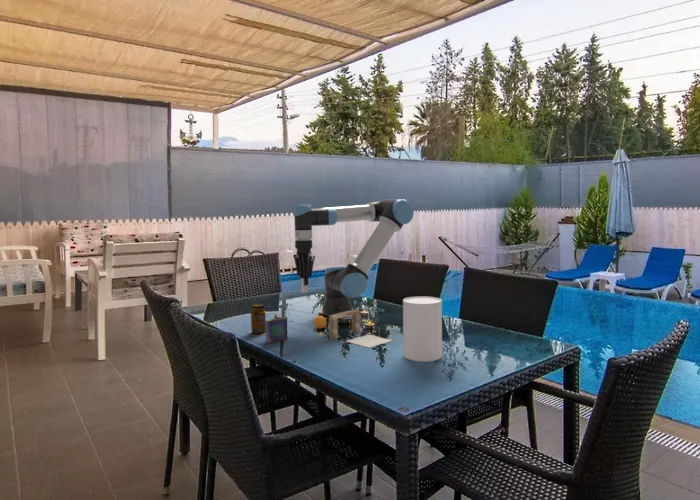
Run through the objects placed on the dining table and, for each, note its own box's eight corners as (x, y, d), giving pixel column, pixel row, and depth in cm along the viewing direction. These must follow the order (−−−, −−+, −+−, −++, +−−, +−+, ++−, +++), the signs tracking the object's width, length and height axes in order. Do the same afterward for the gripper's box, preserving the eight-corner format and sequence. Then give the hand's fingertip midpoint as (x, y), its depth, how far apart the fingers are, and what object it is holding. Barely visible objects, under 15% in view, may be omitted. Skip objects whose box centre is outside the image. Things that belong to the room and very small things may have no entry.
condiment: (265, 330, 226) (264, 302, 225) (269, 334, 218) (268, 306, 217) (248, 331, 223) (247, 304, 222) (251, 336, 215) (250, 308, 214)
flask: (267, 343, 204) (266, 316, 203) (264, 342, 207) (263, 315, 206) (288, 340, 209) (288, 313, 208) (285, 338, 211) (285, 312, 210)
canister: (415, 363, 176) (415, 305, 174) (396, 353, 189) (396, 298, 187) (449, 358, 182) (449, 301, 180) (428, 348, 194) (428, 295, 192)
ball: (321, 326, 231) (320, 313, 230) (329, 328, 227) (328, 315, 226) (311, 328, 227) (311, 316, 226) (319, 330, 223) (319, 317, 222)
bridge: (329, 337, 211) (328, 315, 210) (355, 330, 221) (354, 309, 220) (334, 338, 209) (333, 316, 208) (360, 332, 219) (359, 310, 218)
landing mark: (369, 335, 214) (368, 334, 214) (392, 341, 204) (392, 340, 204) (345, 341, 205) (345, 340, 205) (368, 347, 196) (368, 347, 196)
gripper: (287, 239, 232) (289, 291, 235) (305, 240, 223) (307, 295, 225) (301, 238, 238) (302, 289, 240) (319, 239, 228) (320, 293, 230)
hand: (304, 292), depth 232 cm, fingers closed
